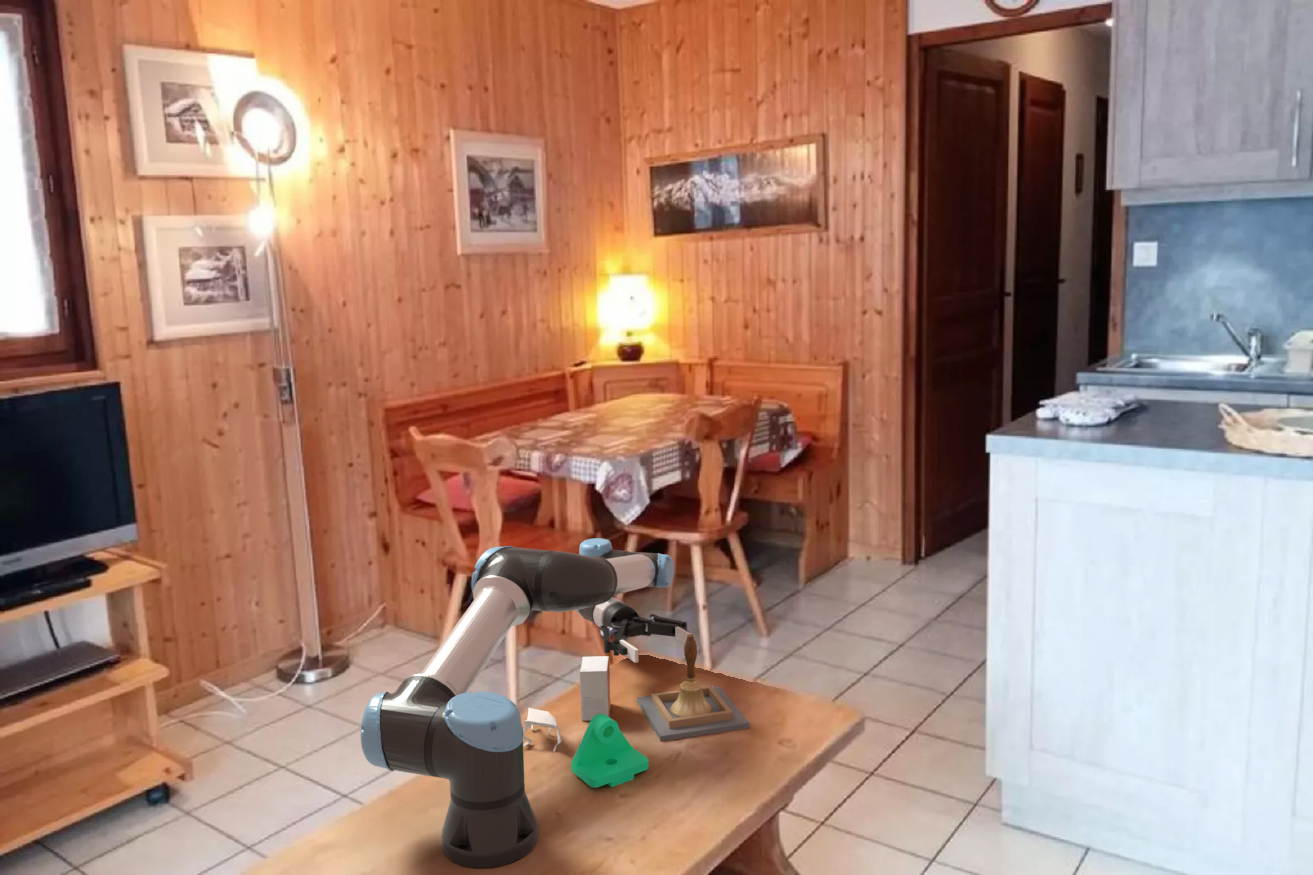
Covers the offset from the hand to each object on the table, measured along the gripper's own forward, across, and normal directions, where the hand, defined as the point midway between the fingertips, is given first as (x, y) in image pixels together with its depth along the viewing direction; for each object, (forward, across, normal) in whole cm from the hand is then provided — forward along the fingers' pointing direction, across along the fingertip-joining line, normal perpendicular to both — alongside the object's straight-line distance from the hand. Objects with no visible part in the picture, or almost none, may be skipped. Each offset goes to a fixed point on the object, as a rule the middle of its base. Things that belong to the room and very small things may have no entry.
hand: (665, 649), depth 214 cm
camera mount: (+22, +25, -11) cm, 35 cm away
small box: (-2, +16, -11) cm, 19 cm away
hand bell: (+10, 0, -10) cm, 14 cm away
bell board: (+10, 0, -11) cm, 14 cm away
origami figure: (+4, +30, -11) cm, 32 cm away
